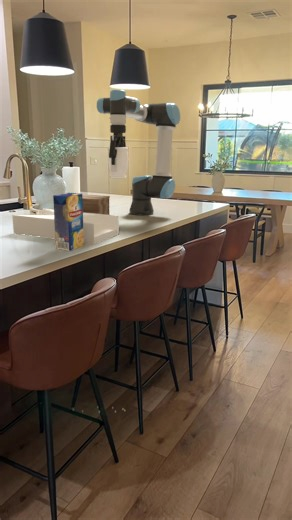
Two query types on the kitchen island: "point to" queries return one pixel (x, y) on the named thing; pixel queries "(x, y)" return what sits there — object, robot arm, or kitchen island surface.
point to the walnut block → (96, 204)
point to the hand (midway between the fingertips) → (118, 171)
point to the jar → (120, 163)
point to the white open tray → (44, 225)
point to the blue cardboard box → (68, 221)
